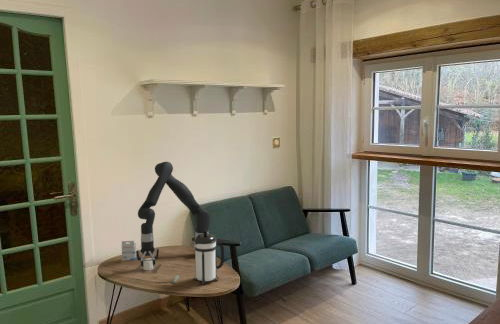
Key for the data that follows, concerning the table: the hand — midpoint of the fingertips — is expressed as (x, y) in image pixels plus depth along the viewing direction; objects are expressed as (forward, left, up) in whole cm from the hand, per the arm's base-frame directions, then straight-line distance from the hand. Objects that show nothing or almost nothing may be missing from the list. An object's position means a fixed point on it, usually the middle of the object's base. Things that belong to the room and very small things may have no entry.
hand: (148, 265), depth 233 cm
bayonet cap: (0, 0, -2) cm, 2 cm away
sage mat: (-15, +12, -4) cm, 20 cm away
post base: (0, -1, -4) cm, 4 cm away
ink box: (+17, -18, -4) cm, 25 cm away
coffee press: (-39, +12, -4) cm, 41 cm away
